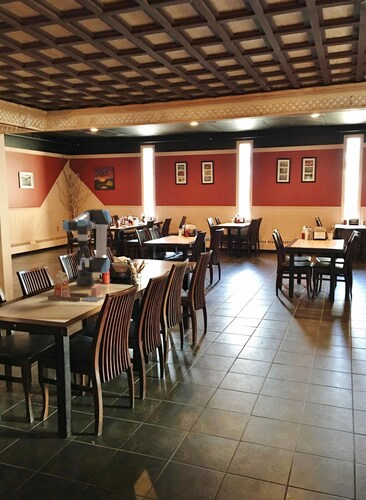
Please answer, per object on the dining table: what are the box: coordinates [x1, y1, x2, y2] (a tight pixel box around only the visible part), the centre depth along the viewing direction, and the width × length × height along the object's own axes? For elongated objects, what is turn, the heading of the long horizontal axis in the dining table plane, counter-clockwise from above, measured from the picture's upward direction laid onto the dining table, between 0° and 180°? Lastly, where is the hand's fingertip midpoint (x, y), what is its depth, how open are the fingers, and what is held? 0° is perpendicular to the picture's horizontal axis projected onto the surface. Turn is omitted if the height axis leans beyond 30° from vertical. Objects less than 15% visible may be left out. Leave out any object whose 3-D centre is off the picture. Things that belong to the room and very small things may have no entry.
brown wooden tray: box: [47, 292, 89, 302], centre depth 312 cm, size 15×24×2 cm, turn 78°
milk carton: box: [53, 270, 71, 297], centre depth 312 cm, size 9×9×20 cm
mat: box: [80, 295, 104, 303], centre depth 308 cm, size 12×12×1 cm
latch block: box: [90, 284, 103, 297], centre depth 322 cm, size 10×4×7 cm, turn 168°
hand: (83, 268), depth 316 cm, fingers open, 13 cm apart
